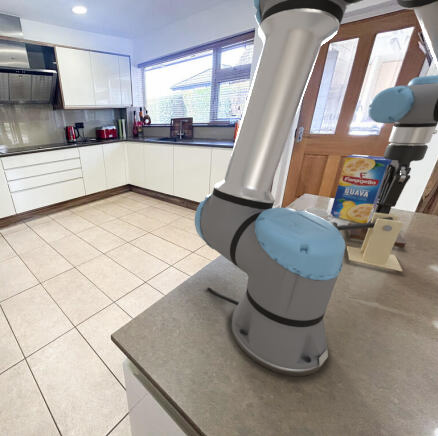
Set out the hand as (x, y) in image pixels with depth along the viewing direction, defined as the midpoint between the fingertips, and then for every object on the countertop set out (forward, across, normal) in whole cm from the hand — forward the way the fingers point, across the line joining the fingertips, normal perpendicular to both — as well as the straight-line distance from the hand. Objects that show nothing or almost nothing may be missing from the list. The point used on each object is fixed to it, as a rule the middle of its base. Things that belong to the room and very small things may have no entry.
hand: (377, 224), depth 71 cm
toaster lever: (-4, -15, +6) cm, 17 cm away
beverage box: (+5, +17, +4) cm, 18 cm away
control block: (+5, 0, 0) cm, 5 cm away
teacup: (+5, +5, +15) cm, 17 cm away
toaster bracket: (+5, -15, +2) cm, 16 cm away
